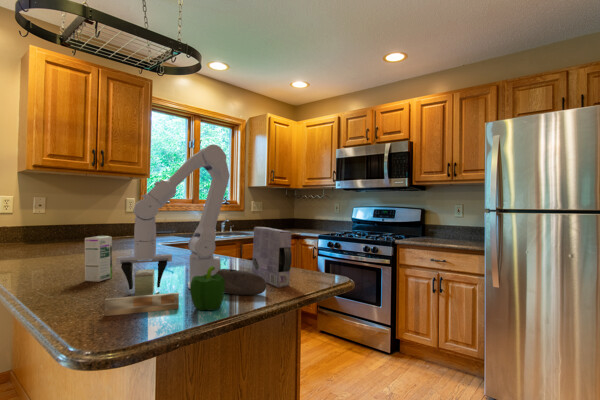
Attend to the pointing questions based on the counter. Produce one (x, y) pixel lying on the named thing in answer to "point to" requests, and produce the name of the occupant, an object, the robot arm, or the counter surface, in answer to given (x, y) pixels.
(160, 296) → the shelf board
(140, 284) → the tea tin
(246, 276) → the perforated stone tool
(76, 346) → the counter surface
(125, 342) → the counter surface
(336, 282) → the counter surface
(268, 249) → the cake pan box
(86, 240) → the syrup box
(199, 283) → the bell pepper
